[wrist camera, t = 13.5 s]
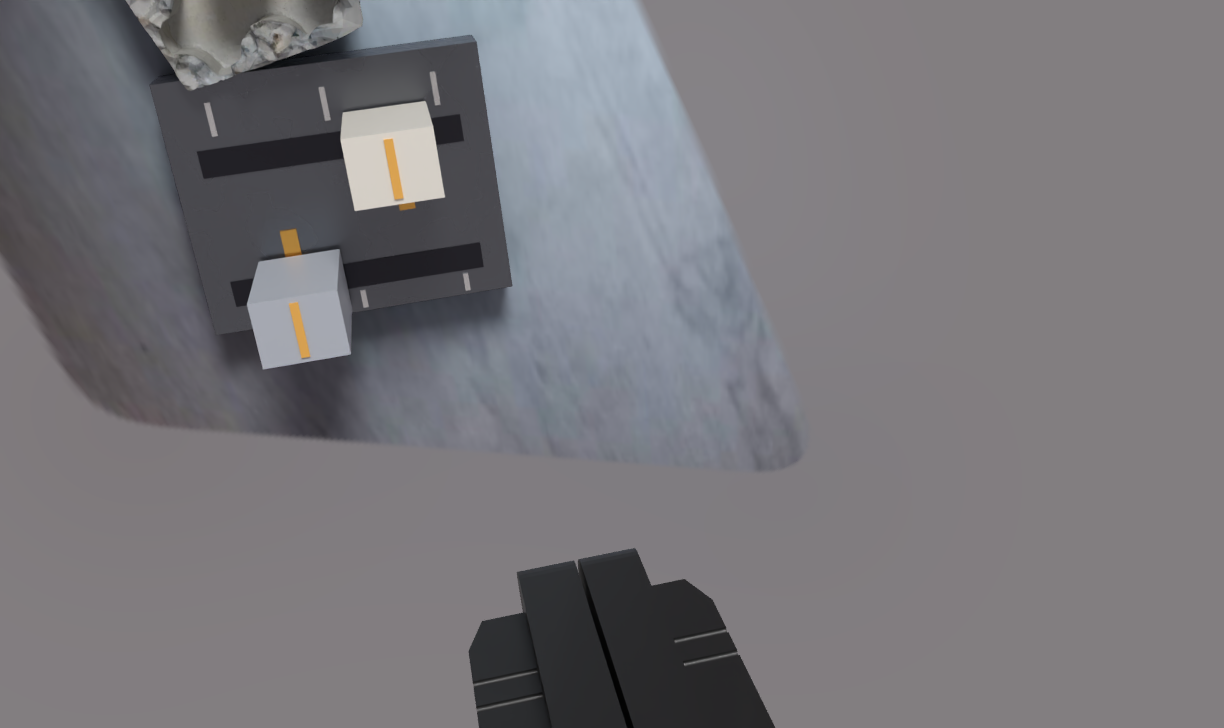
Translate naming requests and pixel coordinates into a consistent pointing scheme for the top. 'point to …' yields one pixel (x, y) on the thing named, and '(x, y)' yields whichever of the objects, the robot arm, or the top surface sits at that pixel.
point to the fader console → (334, 176)
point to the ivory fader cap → (391, 155)
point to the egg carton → (240, 32)
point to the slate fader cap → (301, 309)
